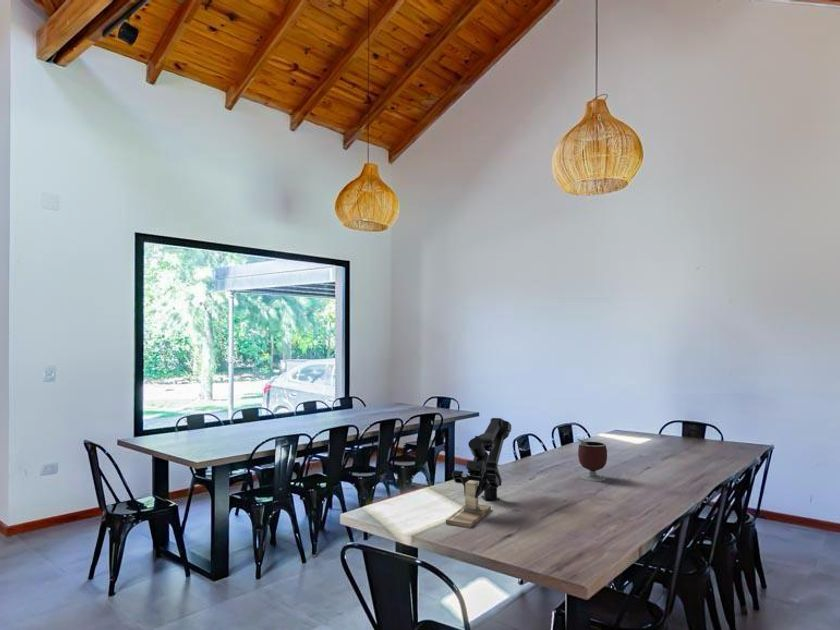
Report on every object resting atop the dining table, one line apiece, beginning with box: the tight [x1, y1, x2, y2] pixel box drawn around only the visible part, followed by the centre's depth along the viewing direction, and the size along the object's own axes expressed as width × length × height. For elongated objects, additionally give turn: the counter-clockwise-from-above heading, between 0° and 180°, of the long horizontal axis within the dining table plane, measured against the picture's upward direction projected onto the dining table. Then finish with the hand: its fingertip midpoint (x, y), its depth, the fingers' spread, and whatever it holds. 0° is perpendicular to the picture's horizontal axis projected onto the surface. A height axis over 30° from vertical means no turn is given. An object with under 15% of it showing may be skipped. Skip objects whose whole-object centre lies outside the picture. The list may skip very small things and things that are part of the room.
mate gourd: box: [576, 438, 608, 482], centre depth 282 cm, size 16×14×20 cm
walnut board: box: [445, 503, 492, 528], centre depth 222 cm, size 24×10×2 cm, turn 155°
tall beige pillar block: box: [464, 480, 480, 513], centre depth 225 cm, size 5×5×11 cm
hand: (470, 497), depth 224 cm, fingers closed on tall beige pillar block, 4 cm apart
